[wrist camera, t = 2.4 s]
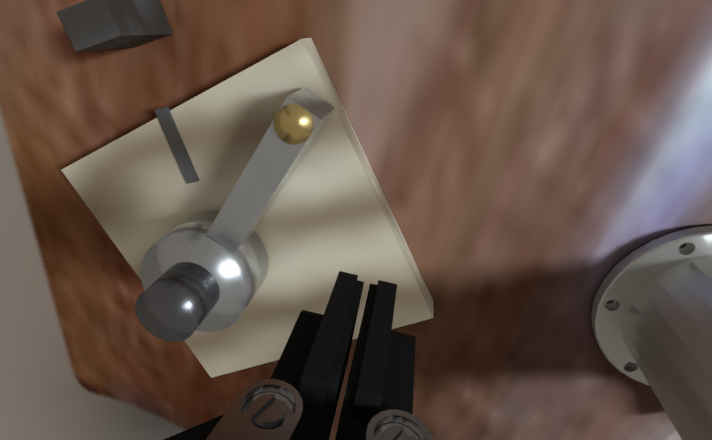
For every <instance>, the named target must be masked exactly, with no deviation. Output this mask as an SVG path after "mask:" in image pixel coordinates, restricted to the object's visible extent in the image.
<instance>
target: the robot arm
mask: <svg viewBox="0 0 712 440" xmlns="http://www.w3.org/2000/svg"><path fill="white" fill-rule="evenodd" d="M357 279H358V275H355V274H350V273H346V272H342V271H339V274H338V276H337V279H336V282H335V285H334V287H333V290H332V293H331V296H330V299H329V301H328V304H327V307H326V310H325V312H324V315H323V314H318V313H314V312H310V311H306V310H302V311H301V312H300V314H299V316H298V319H297V321H296V323H295V325H294V328H293V330H292V332H291V334H290V337H289V339H288V341H287V343H286V346H285V348H284V350H283V352H282V355H281V357H280V359H279V361H278V364H277V366H276V368H275V370H274V373H273V375H272V377H271V379H263V380H260V381H256V382H254V383H252V384H250V385H248V386H246V387H245V388H244V389H243V390H242V391H241V392H240V393H239V395H238V396H237V397H236V399H235V400H234V402H233V403H232V404H231V406H230V407H229V408H228V410H227V411H226V412H225V414H224V415H221V416H219V417H217V418H214V419H212V420H210V421H207V422H205V423H202V424H200V425H198V426H195V427H193V428H191V429H188V430H186V431H183V432H181V433H179V434H176V435H174V436H171V437H169V438H167V439H164V440H329V436H330V432H331V428H332V424H333V420H334V416H335V411H336V407H337V403H338V399H339V395H340V391H341V387H342V382H343V378H344V374H345V370H346V366H347V362H348V357H349V353H350V348H351V343H352V338H353V333H354V329H355V324H356V319H357V314H358V309H359V305H360V300H361V295H362V290H363V286H364V282H363V281H358V280H357ZM396 291H397V284H394V283H390V282H385V281H381V280H378V284H377V285H376V284H371V283H370V286H369V291H368V295H367V299H366V304H365V308H364V313H363V317H362V322H361V326H360V330H359V335H358V339H357V344H356V348H355V352H354V357H353V361H352V366H351V370H350V374H349V379H348V383H347V388H346V393H345V397H344V402H343V406H342V411H341V416H340V420H339V425H338V430H337V434H336V439H335V440H433V439H432V436H431V433H430V431H429V430H428V428H427V427H426V425H425V424H424V423H423V422H422V421H421V420H419V419H418V418H417V417H416V416H414V415H412V410H413V387H414V364H415V336H411V335H407V334H403V333H399V332H395V331H392V323H393V315H394V307H395V299H396ZM591 323H592V328H593V334H594V336H595V338H596V340H597V343H598V345H599V347H600V349H601V350H602V352H603V354H604V355H605V357H606V358H607V360H608V361H609V362H610V363H611V364H612V365H613V366H614V367H615V368H616V369H617V370H619V371H620V372H622V373H623V374H625V375H626V376H628V377H629V378H631V379H633V380H636V381H638V382H640V383H643V384H645V385H648V386H650V387H651V388H652V390H653V392H654V393H655V395H656V397H657V398H658V400H659V402H660V404H661V405H662V407H663V409H664V410H665V412H666V414H667V415H668V417H669V419H670V420H671V422H672V424H673V425H674V427H675V429H676V430H677V432H678V434H679V435H680V437H681V439H682V440H712V226H703V227H693V228H689V229H685V230H681V231H677V232H673V233H670V234H667V235H665V236H662V237H660V238H657V239H655V240H652V241H650V242H648V243H647V244H645V245H643V246H641V247H640V248H638V249H636V250H635V251H633V252H631V253H630V254H629V255H628V256H627V257H625V258H624V259H623V260H622V261H620V262H619V263H618V264H617V265H616V266H615V267H614V268H613V269H612V270H611V272H610V273H609V274H608V275H607V276H606V277H605V279H604V281H603V282H602V284H601V286H600V287H599V289H598V291H597V293H596V296H595V299H594V302H593V305H592V314H591Z"/></svg>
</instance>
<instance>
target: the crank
mask: <svg viewBox="0 0 712 440" xmlns="http://www.w3.org/2000/svg"><path fill="white" fill-rule="evenodd" d="M334 109H335V107H334V106H332V105H331V104H329V103H328V102H327V101H325V100H324V99H323V98H321V97H320V96H319V95H317V94H316V93H315V92H313V91H312V90H310V89H309V88H308V87H305V88H303V89H301V90H299V91H297V92H294V93H292V94H290V95H288V96H287V98H286V99H285V101H284V103H283V104H282V106H281V108H280V109H279V110H278V111H277V113H276V114H275V117H274V120H273V121H272V123H271V125H270V127H269V128H268V130H267V132H266V133H265V135H264V137H263V139H262V140H261V142H260V144H259V145H258V147H257V149H256V150H255V152H254V154H253V156H252V157H251V159H250V161H249V162H248V164H247V166H246V167H245V169H244V171H243V173H242V174H241V176H240V178H239V179H238V181H237V183H236V185H235V186H234V188H233V190H232V191H231V193H230V195H229V196H228V198H227V200H226V202H225V203H224V205H223V207H222V208H221V210H220V211H213V210H210V211H202V212H198V213H195V214H193V215H191V216H189V217H188V218H187V219H185V220H184V221H183V222H182V223H180V224H179V225H178V226H176V227H175V228H174V229H173V230H171V231H170V232H169V233H167V234H166V235H165V236H164V237H162V238H161V239H160V240H159V241H157V242H156V243H155V244H153V245H152V246H151V247H150V248H149V249H148V250H147V251H146V253H145V255H144V257H143V259H142V262H141V268H140V274H141V281H142V285H143V288H144V290H145V291H144V292H143V293H142V294H141V295H140V296H139V297H138V299H137V301H136V306H135V309H136V314H137V317H138V319H139V321H140V322H141V324H142V325H143V326H144V328H145V329H146V330H147V331H149V332H150V333H151V334H153V335H154V336H156V337H157V338H160V339H162V340H165V341H169V342H180V341H184V340H186V339H188V338H189V337H190V336H191V335H192V334H193V333H194V332H195V331H200V332H215V331H220V330H223V329H226V328H228V327H230V326H231V325H233V324H234V323H235V322H236V321H237V320H238V319H239V318H240V316H241V315H242V313H243V312H244V310H245V309H246V307H247V306H248V304H249V303H250V301H251V300H252V298H253V297H254V295H255V294H256V292H257V291H258V289H259V288H260V286H261V285H262V283H263V282H264V280H265V278H266V276H267V273H268V266H269V261H268V255H267V251H266V248H265V246H264V244H263V242H262V240H261V238H260V237H259V235H258V234H257V233H256V232H255V230H256V228H257V227H258V225H259V224H260V222H261V221H262V219H263V218H264V216H265V214H266V213H267V211H268V210H269V208H270V207H271V205H272V204H273V202H274V201H275V199H276V198H277V196H278V195H279V193H280V192H281V190H282V188H283V187H284V185H285V184H286V182H287V181H288V179H289V178H290V176H291V175H292V173H293V172H294V170H295V169H296V167H297V166H298V164H299V162H300V161H301V159H302V158H303V156H304V155H305V153H306V152H307V150H308V149H309V147H310V146H311V144H312V143H313V141H314V140H315V138H316V136H317V135H318V133H319V132H320V130H321V129H322V127H323V126H324V124H325V123H326V121H327V120H328V118H329V117H330V115H331V114H332V112H333V110H334Z"/></svg>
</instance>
